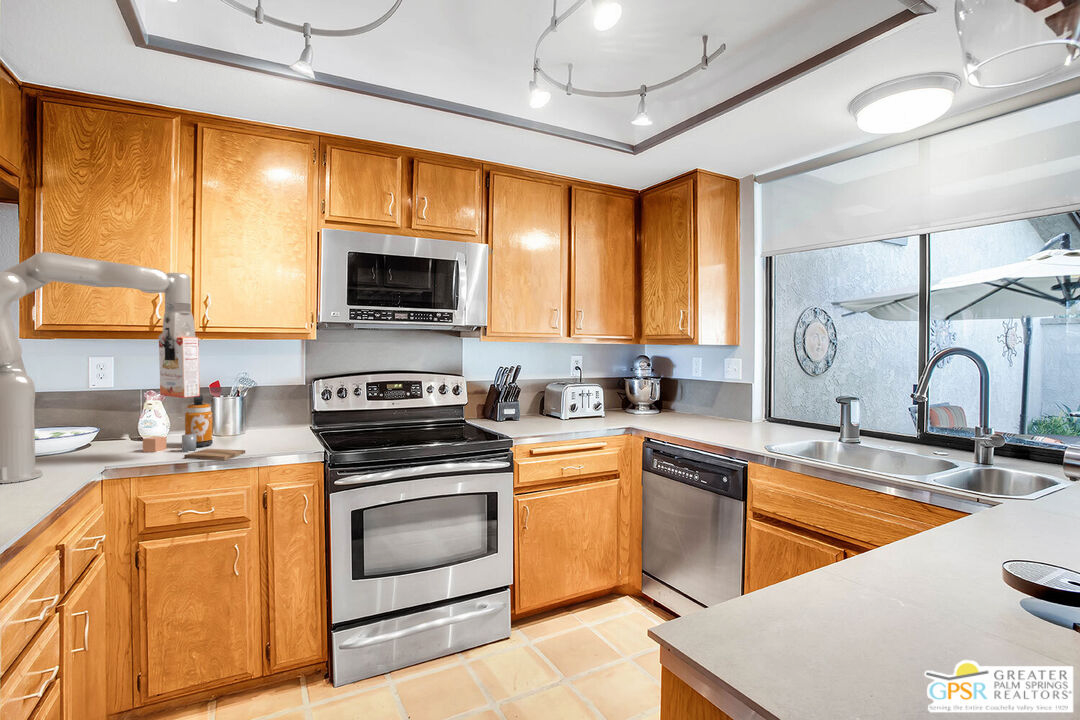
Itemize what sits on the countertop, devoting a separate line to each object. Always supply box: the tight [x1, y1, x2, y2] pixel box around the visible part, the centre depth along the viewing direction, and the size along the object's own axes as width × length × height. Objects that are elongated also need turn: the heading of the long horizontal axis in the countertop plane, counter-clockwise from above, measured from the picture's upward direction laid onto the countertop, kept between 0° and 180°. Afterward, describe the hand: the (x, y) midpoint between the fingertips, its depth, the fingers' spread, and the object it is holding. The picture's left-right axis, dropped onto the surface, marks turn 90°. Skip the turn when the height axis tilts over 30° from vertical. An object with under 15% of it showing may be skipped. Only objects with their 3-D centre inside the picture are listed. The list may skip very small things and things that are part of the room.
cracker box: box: [158, 336, 201, 399], centre depth 189 cm, size 14×6×21 cm, turn 63°
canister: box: [184, 393, 214, 448], centre depth 210 cm, size 9×11×20 cm
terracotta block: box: [142, 435, 167, 453], centre depth 199 cm, size 5×5×5 cm
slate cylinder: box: [181, 433, 197, 453], centre depth 200 cm, size 4×4×6 cm
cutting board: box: [183, 448, 246, 461], centre depth 193 cm, size 11×15×1 cm
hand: (179, 359), depth 189 cm, fingers closed on cracker box, 7 cm apart
